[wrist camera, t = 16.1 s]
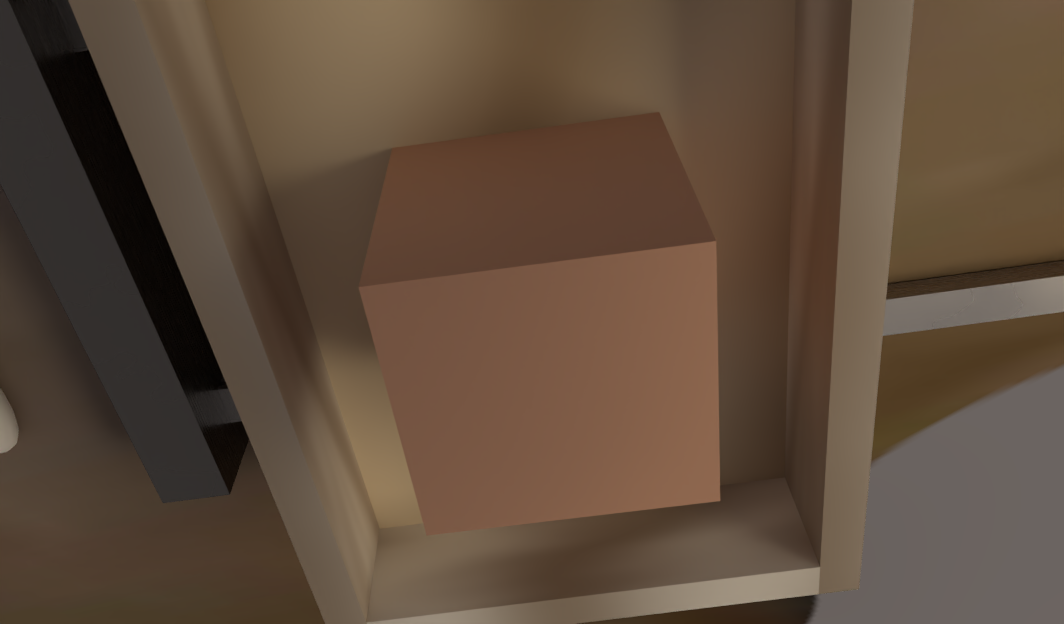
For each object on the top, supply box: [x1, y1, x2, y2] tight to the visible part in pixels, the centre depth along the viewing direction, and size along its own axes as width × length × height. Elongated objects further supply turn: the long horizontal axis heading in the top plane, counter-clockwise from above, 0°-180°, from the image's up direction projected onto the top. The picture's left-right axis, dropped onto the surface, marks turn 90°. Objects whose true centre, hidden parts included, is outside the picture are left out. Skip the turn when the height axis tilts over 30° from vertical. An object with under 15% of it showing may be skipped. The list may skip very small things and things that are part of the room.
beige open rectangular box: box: [68, 0, 914, 624], centre depth 16 cm, size 11×15×5 cm
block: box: [359, 112, 720, 535], centre depth 14 cm, size 4×4×4 cm
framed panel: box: [0, 0, 1064, 503], centre depth 18 cm, size 28×12×2 cm, turn 98°
